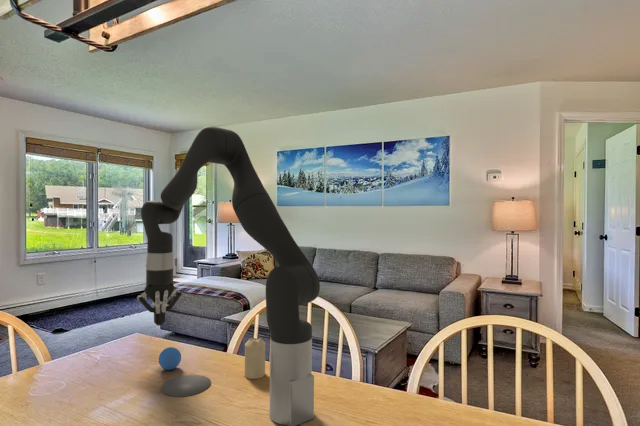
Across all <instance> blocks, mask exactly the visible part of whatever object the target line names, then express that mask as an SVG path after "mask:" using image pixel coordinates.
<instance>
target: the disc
mask: <svg viewBox="0 0 640 426" xmlns="http://www.w3.org/2000/svg"><path fill="white" fill-rule="evenodd" d="M211 385H212V380H211V379H210V377H208V376H205V375H200V374H186V375H180V376H176V377H173V378H171V379H169V380H167V381H166V382H164V383H163V384H162V386H161V392H162V393H163V394H164V395H166V396H169V397H173V398H175V397H176V398H177V397H179V398H181V397H183V398H184V397H189V396H193V395H194V396H195V395H197V394H201V393H202V392H205V391H206V390H208V389H209V388H210V387H211Z"/></svg>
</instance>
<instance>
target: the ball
mask: <svg viewBox="0 0 640 426" xmlns="http://www.w3.org/2000/svg"><path fill="white" fill-rule="evenodd" d="M181 361H182V353H181V351H180V350H179V349H178V348H176V347H173V346H171V347H170V346H169V347H166V348H164V349H162V351H161V352H160V353H159V355H158V364H159V367H161V369H164V370H167V371H170V370H173V369H175V368H177V367H178V366H179V365H180V363H181Z"/></svg>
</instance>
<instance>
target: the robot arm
mask: <svg viewBox="0 0 640 426" xmlns="http://www.w3.org/2000/svg"><path fill="white" fill-rule="evenodd" d="M207 163H211V164H216V165H217V164H218V165H224V167H226V169H227V170H228V172H229V173H230V175H231V177H232V180H233V189H232V190H233V191H232V196H231V204H232V208H233V211H234V214H235V216H236V218H237V219H238V222H239V224H240V226H241V227H242V228H243V230H244V231H245V233H246V234H247V235H248V236H250V237H251V239H252V240H254V241H255V242H257V243H258V244H259V245H260V246H262V247H263V248H264V249H265V250H266V251H267V252H269V254H271V256H272V257H273V258H274V260H275V261H276V262H277V264H278V266H275V267H274V268H272V269H271V270H270V271H269V272H268V275H267V277H266V282H265V308H266V309H265V310H266V313H265V314H266V323H267V327H268V329H269V334H270V335H269V418H270V419H271V421H272V422H274V423H276V424H279V425H281V426H282V425H283V426H298V425H301V424H303V423H306V422H308V421H310V420H312V419H315V417H314V415H315V413H314V412H315V375H314V374H313V373H312V371H313V370H312V369H313V368H312V365H313V364H312V362H313V361H312V360H313V359H312V358H313V357H312V356H313V352H312V351H313V348H312V347H313V327H312V324H311V323H310V322H309V321H307V320H305V319H304V320H303V319H301V318H300V308H299V307H300V306H303V305H305V304H309V303H311V302H314V300H316V299H317V298H318V297H319V294H320V291H321V290H320V289H321V285H320V280H319V276H318V273H317V271H316V269H315V268H314V267H313V265H312V264H311V262H310V261H309V259H308V258H307V257H306V255H305V253H303V250H302V249H301V248H300V246H299V245H298V243H297V242H296V241H295V239H294V238H293V236H292V234H291V232H290V231H289V229H288V227H287V225H286V223H285V222H284V220H283V219H282V217H281V215H280V213H279V212H278V209H277V207H276V205H275V204H274V202H273V200H272V198H271V197H270V195H269V192H267V190H266V187H264V185H263V182H262V181H261V179H260V177H259V175H258V173H257V172H256V170H255V168H254V165H253V163H252V160H251V158H250V155H249V153H248V151H247V149H246V147H245V144H244V142H243V140H242V138H241V136H240V135H239V134H238V133H237V132H235V131H233V130H231V129H227V128H221V127H218V126H211V125H209V126H204V127H203V128H202V129H200V131H199V132H198V133H197V135H196V136H195V138H194V140H193V141H192V143H191V145H190V147H189V149H188V150H187V152H186V154H185V156H184V159H183V160H182V162H181V164H180V167H179V168H178V169H177V172H176V173H175V175H174V176H173V177H172V178H171V180H170V181H169V182H168V183H167V184H166V186H165V187H164V188H163V189H162V190H161V193H160V200H148V201H146V202H145V203H143V204H142V206H141V210H140V216H141V217H140V218H141V220H142V224H143V227H144V231H145V236H146V241H147V242H146V243H147V244H146V245H147V251H146V252H147V253H146V254H147V255H146V258H145V259H146V263H145V269H146V270H145V272H146V273H145V274H146V275H145V276H146V277H145V287H144V289H143V291H144V292H143V293H141V294H140V295H137V296H136V299H137V300H138V301H139V303H140V304H141V305H142V306H143V307H144V308H145V309H146V310H147V311H148V312H149V313H153V323H154V324H155V325H156V326H163V325H164V324H165V321H166V312H167V311H170V310H172V309H173V307H174V305H176V303H177V302H178V301H179V299H180V297H181V296H182V292H181V291H179V290H177V289H176V288H175V287H176V286H175V284H174V255H173V254H174V253H173V251H174V250H173V242H174V241H173V235H172V233H170V232H167V231H162V230H161V228H160V225H171V224H173V223H175V222H176V221H178V220H179V218H180V216H181V213H182V211H183V208H184V205H185V204H186V203H187V202H188V201H189V199H190V198H191V197H192V196H193V195H194V193H195V191H196V190H197V188H198V172H199V171H200V170H201V168H203V167H204V166H205V165H206V164H207ZM169 298H170V299H169ZM148 299H150V300H151V303H152V306H151V304H150V303H148V302H147V300H148Z"/></svg>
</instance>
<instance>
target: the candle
mask: <svg viewBox="0 0 640 426" xmlns="http://www.w3.org/2000/svg"><path fill="white" fill-rule="evenodd" d="M265 375H266V342H265V341H264V340H263V339H262V338H260V337H259V338H255V337H253V338H252V337H250V338H249V339H248V340H247V342H245V343H244V377H245V378H246V379H249V380H258V379H261V378H264V377H265Z"/></svg>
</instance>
